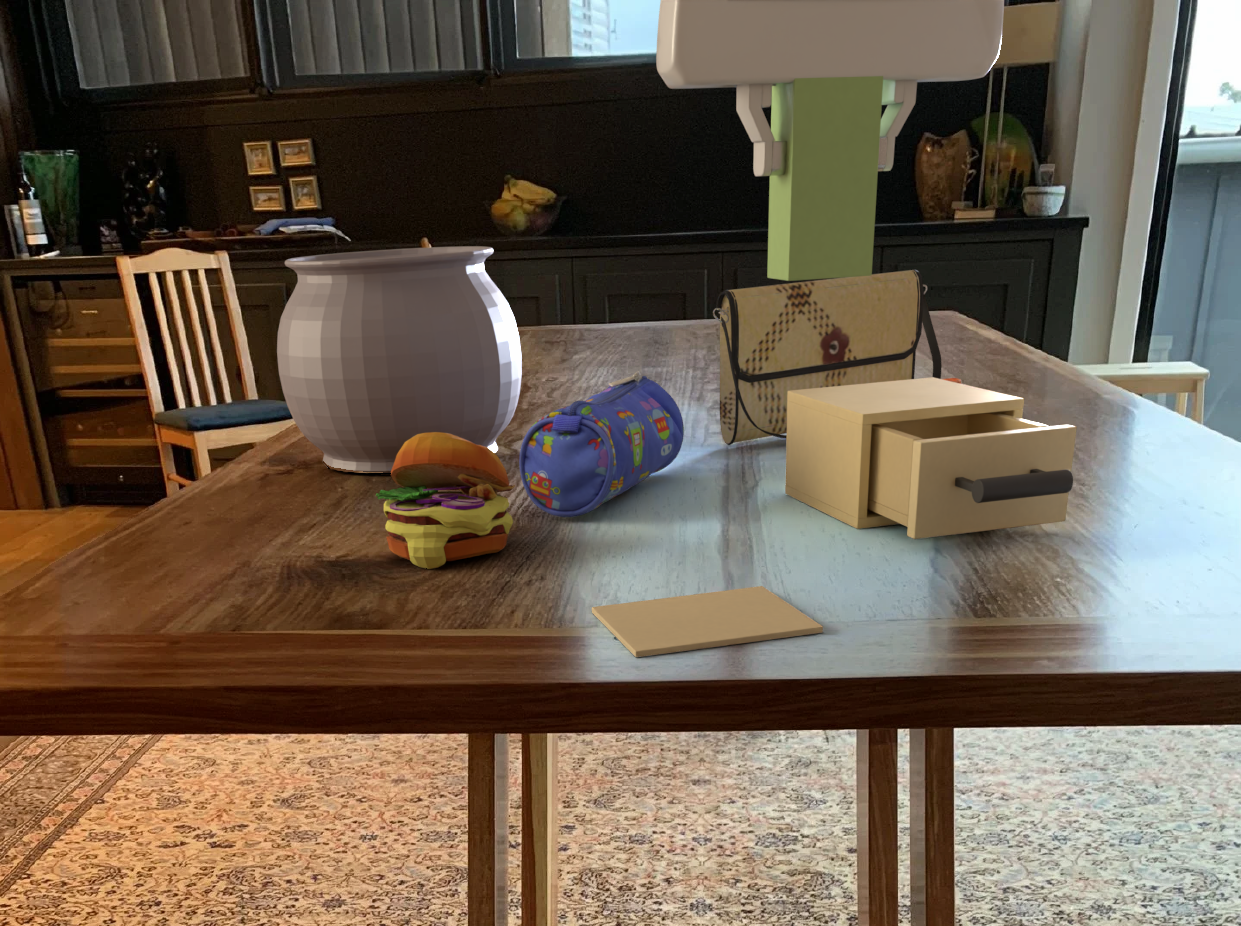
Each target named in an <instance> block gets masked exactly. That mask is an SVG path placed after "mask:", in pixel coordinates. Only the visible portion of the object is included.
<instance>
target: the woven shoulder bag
mask: <svg viewBox="0 0 1241 926" xmlns="http://www.w3.org/2000/svg"><path fill="white" fill-rule="evenodd" d="M924 287H925V290H924ZM927 291H928V286H927V285H926V284H924V283H923V276H922V274H921V273H920V271H919V270H917V269H915V268H914V269H912V270H911V269H909V270H900V271H893V272H882V273H872V275H871V276H858V277H842V278H827V279H816V280H807V281H801V282H800V281H799V282H792V283H782V284H780V283H779V284H772V285H763V286H753V287H745V288H735V289H724V290H723V291H721V292H720V293H719V295H718V296H717V300H716V304H715V306H716V308H713V310H712V315H713V318H715V320H716V321H717V322H719V424H720V432H721V436H722V437H721V438H722V440H723V442H724V444H726V445H727V446H731V445H733V444H734V443H739V442H745V441H751V440H756V439H763V438H767V437H776V438H781V439H786V437H787V401H788V400H787V393H788V391H790V390H801V389H812V388H823V387H833V386H844V385H855V384H866V383H877V382H887V381H898V380H909V379H915V372H916V371H915V370H916V357H917V355H916V353H917V348H918V345H919V343H920V339H921V336H922V329H923V330H924V333H925V336H926V340H927V343H928V348H929V351H930V355H931V359H932V375H931V376H932V377H934V378H938V379H942V357H941V355H942V354H941V351H940V346H939V343H938V340H937V339H938V338H937V336H936V332H935V329H934V325H933V322H932V318H931V314H930V311H929V307H928V303H927V299H926V293H927ZM716 311H718V314H719V318H718V317H717V315H716V313H715V312H716Z"/></svg>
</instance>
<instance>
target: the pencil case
mask: <svg viewBox="0 0 1241 926" xmlns="http://www.w3.org/2000/svg"><path fill="white" fill-rule="evenodd" d="M607 384H608V387H607V388H605V389H604V390H602V391H600V392H599V393H596V394H593V395H591V396H590V397H588V398H587V399H585V400H575V401H574V402H572V403H571V404H570V405H567V406H564V407H561V408H558V409H555V410H554V411H553V410H552V412H550V413H548V414H546V415H544V416H542V417H540V418H539V419H537V420H536V421H535V422H534V423H533V424H532V425H531V426H530V427H529V429H528V430H527V432H526V434H525V435H524V438H523V440H522V442H521V444H520V445H521V446H520V450H519V451H520V452H519V459H518V460H519V473H520V474H519V475H520V478H521V482H522V486H523V487H524V490H525V492H526V494H527V496H528V497H529V499H530V500H531V502H532V503H533V504H534V505H535V506H536V507H537V508H539V509H540V510H541V511H543V512H545V513H547V514H549V515H551V516H554V517H559V518H574V517H579V516H583V515H585V514H587V513H590V512H592V511H594V510H596V509H598V508H599V507H600V506H601V505H603V504H605V503H607V502H608V501H610V500H613V499H614V498H616V497H617V496H619V495H621V494H623V493H625V492H627V491H628V490H630V489H631V488H633V487H635V486H637V485H638V484H640V483H641V482H643V481H644V480H645V479H647V478H648V477H650V476H652V475H653V474H655V473H657V472H660V471H662V470H664V469H665V468H667V467H668V466H669V465H671V464H672V463H673V461H675V459H676V458H677V457H678V455H679V453H680V452H681V448H682V445H683V441H684V436H685V427H684V420H683V415H682V413H681V410H680V408H679V406H678V404H677V402H676V401H675V399H674V398H673V397H672V396H671V395H670V394H669V392H668V391H666V390H665V388H663V387H662V386H661V385H659V384H658V382H656V381H654V380H653V379H650V378H648V377H647V375H641V373H640V371H638V370H637V371H635V373H634V374H632V375H630V376H628V377H624V378H621V379H618V380H615V381H613V382H609V383H607Z"/></svg>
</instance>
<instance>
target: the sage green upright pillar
mask: <svg viewBox="0 0 1241 926" xmlns="http://www.w3.org/2000/svg"><path fill="white" fill-rule="evenodd" d="M882 90H883V76H867V77H828V78H795V79H794V81H793V83H776V86H772V98H771V106H770V108H771V113H770V129H771V132H772V134H773V136H774V139H775V141H787V155H786V157H785V159H786V161H787V164H786V172H785V174H784V175H776V176H769V186H768V187H769V190H768V195H769V196H768V230H767V231H768V232H767V237H768V238H767V268H766V269H767V273H766V274H767V276H766V277H767V279H772V280H779V281H786V282H794V281H812V280H826V279H835V278H845V277H858V276H871V275H872V274H873V257H874V244H875V243H874V241H875V225H876V208H877V207H876V206H877V190H878V173H879V171H878V158H879V141H880V124H881V118H882V107H883V105H882Z"/></svg>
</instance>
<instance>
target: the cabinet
mask: <svg viewBox="0 0 1241 926" xmlns="http://www.w3.org/2000/svg"><path fill="white" fill-rule="evenodd" d="M942 379H943V378H941V379H938V378H934V377H923V378H922V377H921V378H914V379H909V380H898V381H887V382H877V383H866V384H855V385H844V386H833V387H823V388H812V389H801V390H790V391H788V393H787V400H788V401H787V433H786V435H787V437H786V438H785V439H786V444H785V450H786V451H785V481H784V482H785V484H784V485H785V486H784V495H787V496H789V497H791V498H793V499H795V500H797V501H799V502H801V503H803V504H805V505H807V506H809V507H811V508H813V509H816V510H818V511H820V512H821V513H824V514H825V515H828V516H830V517H832V518H834V519H836V520H837V521H841V522H842V523H844V524H846V525H848V526H850V527H852V528H854V529H857V530H860V529H868V528H877V527H884V526H885V527H887V526H893V525H895V526H896V525H901V524H900V523H898V522H895V521H893V520H891V519H889V518H886V517H884V516H882V515H880V514H878V513H875V512H873V511H871V510H869V509H867V503H868V485H869V466H870V447H871V428H872V425H871V424H879V423H889V422H899V421H909V420H919V419H929V418H940V417H950V416H960V415H970V414H980V413H990V412H997V413H1001V414H1005V415H1009V416H1013V417H1017V418H1021V419H1023V415H1024V413H1023V412H1024V405H1025V398H1024V397H1019V396H1015V395H1011V394H1007V393H1002V392H998V391H994V390H989V389H985V388H980V387H976V386H972V385H968V384H964V383H962V384H960V383H955V382H951V381H947V380H942Z"/></svg>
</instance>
